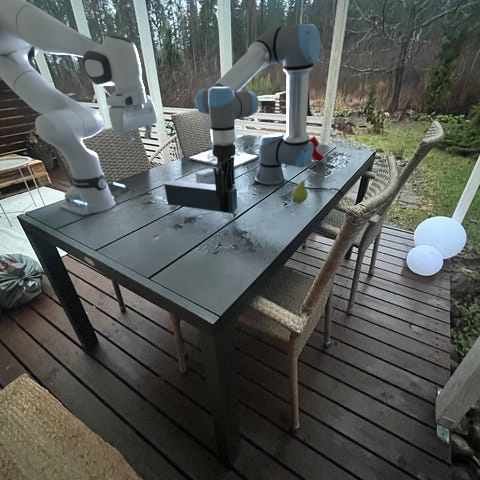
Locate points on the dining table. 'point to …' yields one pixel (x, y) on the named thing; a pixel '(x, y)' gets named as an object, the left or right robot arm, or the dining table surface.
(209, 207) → the bar
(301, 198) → the fruit
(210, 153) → the relief map
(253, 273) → the dining table surface
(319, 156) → the toy gun
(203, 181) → the ink box
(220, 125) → the right robot arm
